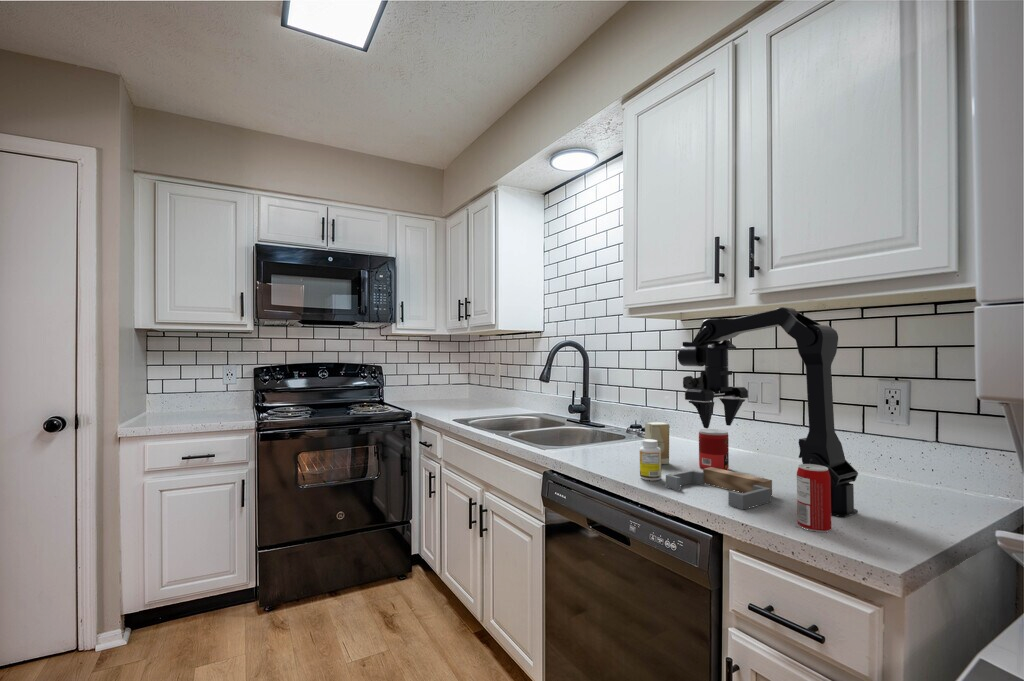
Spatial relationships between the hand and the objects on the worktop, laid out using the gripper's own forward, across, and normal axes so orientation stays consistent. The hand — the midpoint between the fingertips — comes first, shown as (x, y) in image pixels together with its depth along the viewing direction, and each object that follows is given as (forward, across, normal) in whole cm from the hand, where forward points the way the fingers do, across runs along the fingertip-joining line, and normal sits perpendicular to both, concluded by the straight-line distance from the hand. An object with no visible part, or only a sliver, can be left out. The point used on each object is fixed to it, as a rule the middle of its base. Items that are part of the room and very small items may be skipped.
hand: (717, 426), depth 129 cm
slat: (+15, +2, +6) cm, 16 cm away
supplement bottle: (+15, +12, -12) cm, 22 cm away
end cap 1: (+14, +10, -2) cm, 18 cm away
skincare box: (+14, -4, -24) cm, 29 cm away
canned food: (+15, -12, -10) cm, 22 cm away
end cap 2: (+14, +10, +15) cm, 23 cm away
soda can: (+15, +14, +31) cm, 37 cm away
